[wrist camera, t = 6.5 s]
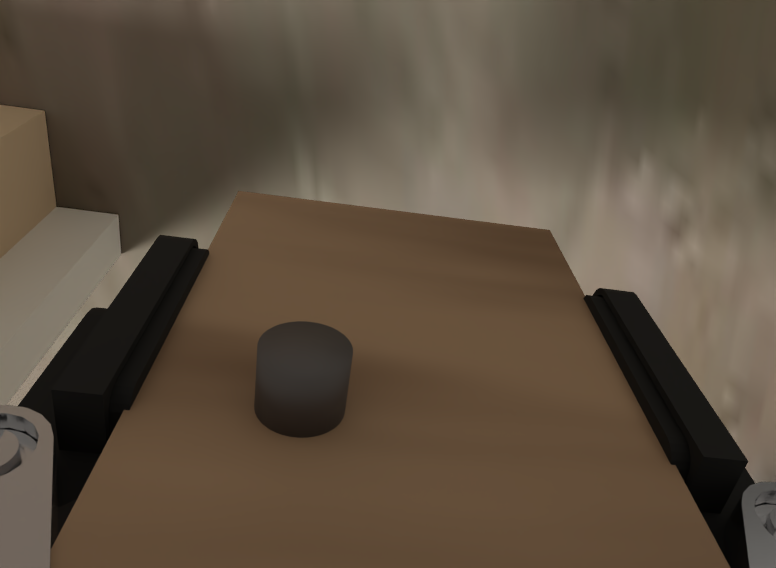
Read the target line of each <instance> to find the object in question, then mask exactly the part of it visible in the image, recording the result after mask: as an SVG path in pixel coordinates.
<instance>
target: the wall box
mask: <svg viewBox="0 0 776 568" xmlns="http://www.w3.org/2000/svg"><path fill="white" fill-rule="evenodd" d="M208 250H209V256H208V258H207V260H206V262H205V264H204V266H203V268H202V269H201V271H200V273H199V275H198V277H197V279H196V281H195V283H194V285H193V287H192V289H191V291H190V293H189V295H188V297H187V299H186V301H185V303H184V305H183V307H182V309H181V311H180V313H179V314H178V316H177V318H176V320H175V322H174V324H173V326H172V328H171V330H170V332H169V334H168V336H167V338H166V340H165V342H164V344H163V346H162V348H161V350H160V352H159V354H158V356H157V358H156V359H155V361H154V363H153V365H152V367H151V369H150V371H149V373H148V375H147V377H146V379H145V381H144V383H143V385H142V387H141V389H140V391H139V393H138V395H137V397H136V399H135V401H134V403H133V404H132V406H131V408H130V410H124V411H123V413H122V415H121V417H120V419H119V420H118V422H117V424H116V426H115V428H114V430H113V432H112V434H111V436H110V438H109V440H108V441H107V443H106V445H105V447H104V449H103V451H102V453H101V455H100V457H99V459H98V461H97V462H96V464H95V466H94V468H93V470H92V472H91V474H90V476H89V478H88V480H87V482H86V483H85V485H84V487H83V489H82V491H81V493H80V495H79V497H78V499H77V501H76V503H75V504H74V506H73V508H72V510H71V512H70V514H69V516H68V518H67V520H66V522H65V524H64V525H63V527H62V529H61V531H60V533H59V535H58V537H57V539H56V541H55V543H54V545H53V546H52V548H51V568H730V566H729V564H728V562H727V561H726V559H725V557H724V555H723V553H722V551H721V549H720V548H719V546H718V544H717V542H716V540H715V538H714V536H713V534H712V533H711V531H710V529H709V527H708V525H707V523H706V521H705V520H704V518H703V516H702V514H701V512H700V510H699V508H698V506H697V505H696V503H695V501H694V499H693V497H692V495H691V493H690V491H689V490H688V488H687V486H686V484H685V482H684V480H683V478H682V477H681V475H680V473H679V471H678V469H677V467H676V465H671V464H670V462H669V460H668V458H667V456H666V454H665V453H664V451H663V449H662V447H661V445H660V443H659V441H658V439H657V437H656V435H655V434H654V432H653V430H652V428H651V426H650V424H649V422H648V420H647V418H646V416H645V415H644V413H643V411H642V409H641V407H640V405H639V403H638V401H637V399H636V397H635V396H634V394H633V392H632V390H631V388H630V386H629V384H628V382H627V380H626V378H625V377H624V375H623V373H622V371H621V369H620V367H619V365H618V363H617V361H616V359H615V358H614V356H613V354H612V352H611V350H610V348H609V346H608V344H607V342H606V340H605V339H604V337H603V335H602V333H601V331H600V329H599V327H598V325H597V323H596V322H595V320H594V318H593V316H592V314H591V312H590V310H589V308H588V306H587V304H586V303H585V301H584V299H583V298H584V297H585V295H584V293H583V291H582V290H581V288H580V286H579V284H578V282H577V280H576V278H575V277H574V275H573V273H572V271H571V269H570V267H569V265H568V263H567V262H566V260H565V258H564V256H563V254H562V252H561V250H560V249H559V247H558V245H557V243H556V241H555V239H554V237H553V235H552V234H551V232H550V230H545V229H537V228H529V227H521V226H513V225H505V224H497V223H489V222H481V221H473V220H465V219H457V218H449V217H441V216H433V215H426V214H418V213H410V212H402V211H394V210H386V209H378V208H370V207H362V206H354V205H346V204H338V203H330V202H322V201H314V200H307V199H299V198H291V197H283V196H275V195H267V194H259V193H251V192H243V191H238V193H237V195H236V197H235V199H234V201H233V203H232V205H231V207H230V209H229V210H228V212H227V214H226V216H225V218H224V220H223V222H222V224H221V226H220V228H219V230H218V231H217V233H216V235H215V237H214V239H213V241H212V243H211V245H210V247H209V249H208Z"/></svg>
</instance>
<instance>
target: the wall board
mask: <svg viewBox="0 0 776 568" xmlns="http://www.w3.org/2000/svg"><path fill="white" fill-rule="evenodd" d="M120 256H121V244H120V230H119V217H118V215H116V214H109V213H101V212H93V211H86V210H78V209H70V208H63V207H57V206H56V198H55V190H54V182H53V174H52V166H51V158H50V150H49V142H48V134H47V125H46V117H45V111H43V110H36V109H28V108H21V107H14V106H7V105H0V405H7V403H8V402H9V401H10V400H11V398H12V397H13V396H14V394H15V393H16V392H17V390H18V389H19V388H20V386H21V385H22V384H23V383H24V381H25V380H26V379H27V377H28V376H29V375H30V373H31V372H32V371H33V369H34V368H35V367H36V366H37V364H38V363H39V362H40V360H41V359H42V358H43V356H44V355H45V354H46V352H47V351H48V350H49V348H50V347H51V346H52V345H53V343H54V342H55V341H56V339H57V338H58V337H59V335H60V334H61V333H62V331H63V330H64V329H65V328H66V326H67V325H68V324H69V322H70V321H71V320H72V318H73V317H74V316H75V314H76V313H77V312H78V311H79V309H80V308H81V307H82V305H83V304H84V303H85V301H86V300H87V299H88V297H89V296H90V295H91V294H92V292H93V291H94V290H95V288H96V287H97V286H98V284H99V283H100V282H101V280H102V279H103V278H104V277H105V275H106V274H107V273H108V271H109V270H110V269H111V267H112V266H113V265H114V263H115V262H116V261H117V259H118V258H119V257H120Z"/></svg>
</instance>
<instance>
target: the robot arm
mask: <svg viewBox="0 0 776 568" xmlns="http://www.w3.org/2000/svg"><path fill="white" fill-rule="evenodd" d="M208 256H209V250H207V249H198V242H197V240H196V239H189V238H181V237H172V236H164V235H160V236H159V237H158V238H157V239H156V241H155V242H154V243H153V245H152V246H151V248H150V249H149V251H148V252H147V253H146V255H145V256H144V258H143V259H142V261H141V262H140V263H139V265H138V266H137V268H136V269H135V271H134V272H133V273H132V275H131V276H130V278H129V279H128V281H127V282H126V283H125V285H124V286H123V288H122V289H121V291H120V292H119V293H118V295H117V296H116V298H115V299H114V301H113V302H112V303H111V305H110V306H109V308H108V309H105V308H92V309H91V310H90V311H89V312H88V313H87V314H86V315H85V317H84V318H83V319H82V321H81V322H80V323H79V325H78V326H77V327H76V329H75V330H74V331H73V333H72V334H71V335H70V337H69V338H68V339H67V341H66V342H65V343H64V345H63V346H62V347H61V349H60V350H59V351H58V353H57V354H56V355H55V357H54V358H53V359H52V361H51V362H50V364H49V365H48V366H47V368H46V369H45V370H44V372H43V373H42V374H41V376H40V377H39V378H38V380H37V381H36V382H35V384H34V385H33V386H32V388H31V389H30V390H29V392H28V393H27V394H26V396H25V397H24V398H23V400H22V401H21V402H20V404H19V405H18V406H13V405H0V568H51V548H52V546H53V545H54V543H55V541H56V539H57V537H58V535H59V533H60V531H61V529H62V527H63V525H64V524H65V522H66V520H67V518H68V516H69V514H70V512H71V510H72V508H73V506H74V504H75V503H76V501H77V499H78V497H79V495H80V493H81V491H82V489H83V487H84V485H85V483H86V482H87V480H88V478H89V476H90V474H91V472H92V470H93V468H94V466H95V464H96V462H97V461H98V459H99V457H100V455H101V453H102V451H103V449H104V447H105V445H106V443H107V441H108V440H109V438H110V436H111V434H112V432H113V430H114V428H115V426H116V424H117V422H118V420H119V419H120V417H121V415H122V413H123V411H124V410H130V408H131V406H132V404H133V403H134V401H135V399H136V397H137V395H138V393H139V391H140V389H141V387H142V385H143V383H144V381H145V379H146V377H147V375H148V373H149V371H150V369H151V367H152V365H153V363H154V361H155V359H156V358H157V356H158V354H159V352H160V350H161V348H162V346H163V344H164V342H165V340H166V338H167V336H168V334H169V332H170V330H171V328H172V326H173V324H174V322H175V320H176V318H177V316H178V314H179V313H180V311H181V309H182V307H183V305H184V303H185V301H186V299H187V297H188V295H189V293H190V291H191V289H192V287H193V285H194V283H195V281H196V279H197V277H198V275H199V273H200V271H201V269H202V268H203V266H204V264H205V262H206V260H207V258H208ZM583 299H584V301H585V303H586V304H587V306H588V308H589V310H590V312H591V314H592V316H593V318H594V320H595V322H596V323H597V325H598V327H599V329H600V331H601V333H602V335H603V337H604V339H605V340H606V342H607V344H608V346H609V348H610V350H611V352H612V354H613V356H614V358H615V359H616V361H617V363H618V365H619V367H620V369H621V371H622V373H623V375H624V377H625V378H626V380H627V382H628V384H629V386H630V388H631V390H632V392H633V394H634V396H635V397H636V399H637V401H638V403H639V405H640V407H641V409H642V411H643V413H644V415H645V416H646V418H647V420H648V422H649V424H650V426H651V428H652V430H653V432H654V434H655V435H656V437H657V439H658V441H659V443H660V445H661V447H662V449H663V451H664V453H665V454H666V456H667V458H668V460H669V462H670V464H671V465H676V467H677V469H678V471H679V473H680V475H681V477H682V478H683V480H684V482H685V484H686V486H687V488H688V490H689V491H690V493H691V495H692V497H693V499H694V501H695V503H696V505H697V506H698V508H699V510H700V512H701V514H702V516H703V518H704V520H705V521H706V523H707V525H708V527H709V529H710V531H711V533H712V534H713V536H714V538H715V540H716V542H717V544H718V546H719V548H720V549H721V551H722V553H723V555H724V557H725V559H726V561H727V562H728V564H729V566H730V568H776V482H759V483H756V484H755V482H754V481H753V479H752V478H751V476H750V475H749V473H748V472H747V470H746V469H745V467H746V465H747V463H748V460H747V459H746V457H745V456H744V454H743V453H742V451H741V450H740V448H739V447H738V445H737V444H736V442H735V441H734V439H733V438H732V436H731V435H730V433H729V432H728V430H727V429H726V427H725V426H724V424H723V423H722V422H721V420H720V419H719V417H718V416H717V414H716V413H715V411H714V410H713V408H712V407H711V405H710V404H709V402H708V401H707V399H706V398H705V396H704V395H703V393H702V392H701V390H700V389H699V387H698V386H697V384H696V383H695V381H694V380H693V378H692V377H691V375H690V374H689V372H688V371H687V369H686V368H685V367H684V365H683V364H682V362H681V361H680V359H679V358H678V356H677V355H676V353H675V352H674V350H673V349H672V347H671V346H670V344H669V343H668V341H667V340H666V338H665V337H664V335H663V334H662V332H661V331H660V329H659V328H658V326H657V325H656V323H655V322H654V320H653V319H652V317H651V316H650V315H649V313H648V312H647V310H646V309H645V307H644V306H643V304H642V303H641V301H640V300H639V298H638V297H637V295H636V294H635V293H634V292H627V291H619V290H611V289H602V288H599V289H597V290H596V291H595V293H594V294H593V296H590V295H586V296H585V297H584V298H583Z"/></svg>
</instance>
